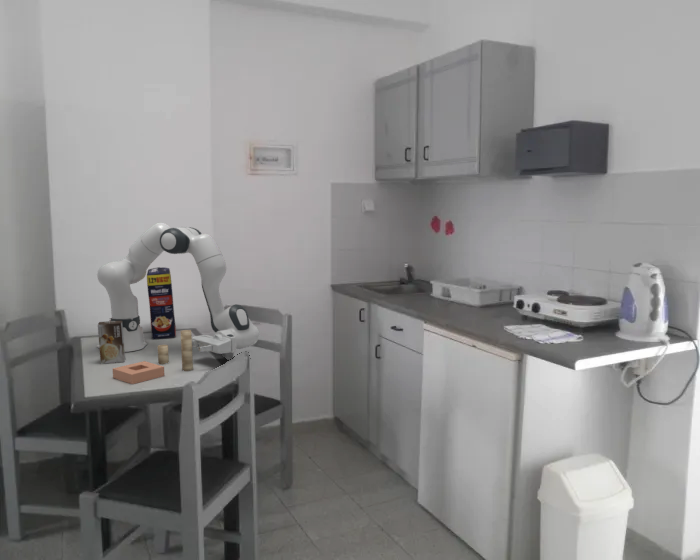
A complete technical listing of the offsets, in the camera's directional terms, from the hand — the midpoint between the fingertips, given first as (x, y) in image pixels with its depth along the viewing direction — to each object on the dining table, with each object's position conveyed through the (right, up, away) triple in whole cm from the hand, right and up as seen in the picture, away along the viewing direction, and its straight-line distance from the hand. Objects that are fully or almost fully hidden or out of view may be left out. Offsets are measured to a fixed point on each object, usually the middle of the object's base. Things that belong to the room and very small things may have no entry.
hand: (192, 347), depth 231 cm
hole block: (-17, -10, -10) cm, 22 cm away
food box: (-36, -7, +13) cm, 39 cm away
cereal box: (-31, -1, +65) cm, 72 cm away
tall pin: (-2, -8, -1) cm, 9 cm away
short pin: (-14, -7, +9) cm, 18 cm away
